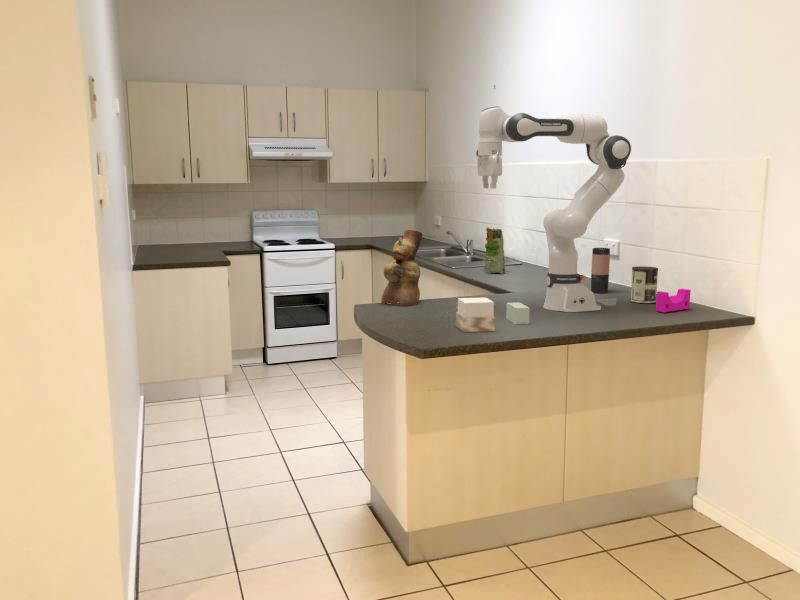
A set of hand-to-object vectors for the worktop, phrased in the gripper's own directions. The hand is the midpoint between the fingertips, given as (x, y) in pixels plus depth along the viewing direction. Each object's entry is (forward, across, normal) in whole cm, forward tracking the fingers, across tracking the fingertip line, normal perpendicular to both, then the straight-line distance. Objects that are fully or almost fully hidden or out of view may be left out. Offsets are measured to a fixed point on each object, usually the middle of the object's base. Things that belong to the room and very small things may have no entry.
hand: (489, 188), depth 266 cm
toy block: (+48, -11, -71) cm, 86 cm away
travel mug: (+47, +30, -61) cm, 83 cm away
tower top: (+42, -32, +14) cm, 55 cm away
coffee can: (+47, +7, -70) cm, 85 cm away
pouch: (+47, +102, -34) cm, 118 cm away
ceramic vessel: (+47, +21, +29) cm, 59 cm away
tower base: (+47, -32, +14) cm, 59 cm away
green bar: (+47, -24, -4) cm, 53 cm away
